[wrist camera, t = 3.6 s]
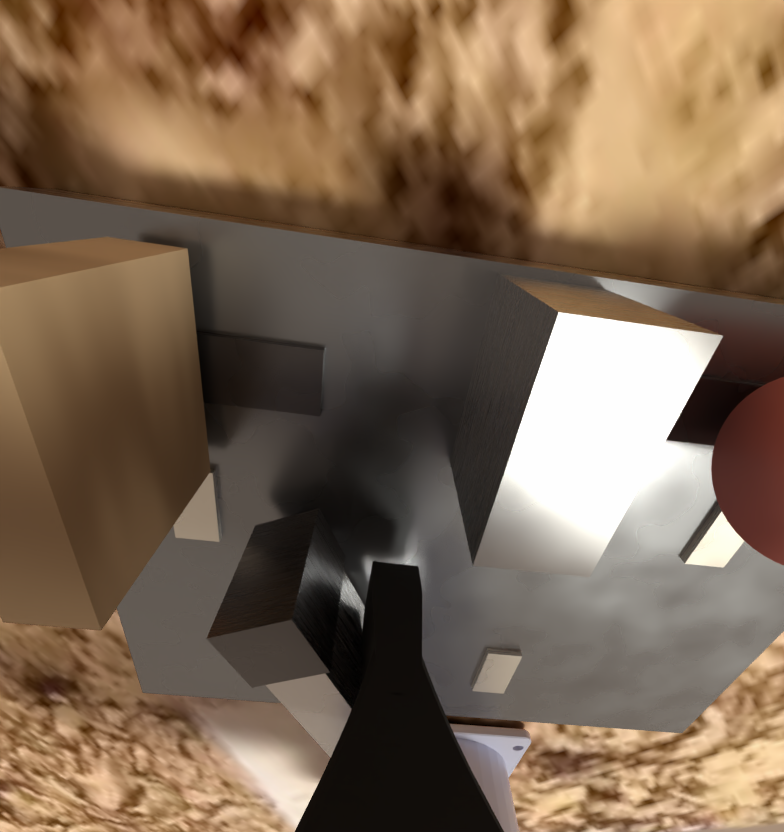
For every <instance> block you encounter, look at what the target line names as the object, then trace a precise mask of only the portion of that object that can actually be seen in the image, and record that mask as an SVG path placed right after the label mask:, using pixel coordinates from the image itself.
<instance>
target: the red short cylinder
mask: <svg viewBox="0 0 784 832" xmlns="http://www.w3.org/2000/svg"><path fill="white" fill-rule="evenodd" d="M711 473H712V483H713V488H714V492H715V495H716V499H717V502H718V504H719V506H720V508H721V511H722V513H723V514H724V516H725V518H726V519H727V521H728V522H729V524H730V525H731V526H732V528H733V529H734V530H735V532H736V533H737V534H738V535H739V536H740V537H741V538H742V539H743V540H744V541H745V542H746V543H747V544H749V545H750V546H751V547H752V548H753V549H755V550H756V551H758V552H759V553H761V554H762V555H763V556H765V557H767V558H769V559H771V560H773V561H774V562H776V563H779V564H781V565H784V377H781V378H779V379H776V380H774V381H772V382H769V383H767V384H765V385H764V386H762V387H760V388H758V389H757V390H755V391H754V392H752V393H751V394H749V395H748V396H747V397H746V398H745V399H743V400H742V401H741V402H740V403H739V404H738V405H737V406H736V407H735V408H734V410H733V411H732V412H731V413H730V415H729V416H728V417H727V419H726V420H725V422H724V424H723V426H722V427H721V429H720V431H719V434H718V436H717V439H716V442H715V445H714V449H713V455H712V465H711Z"/></svg>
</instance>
